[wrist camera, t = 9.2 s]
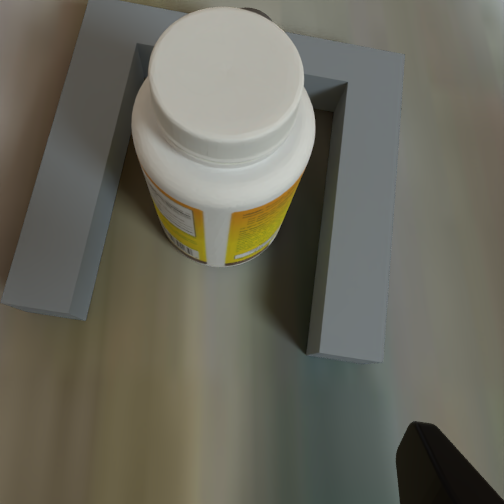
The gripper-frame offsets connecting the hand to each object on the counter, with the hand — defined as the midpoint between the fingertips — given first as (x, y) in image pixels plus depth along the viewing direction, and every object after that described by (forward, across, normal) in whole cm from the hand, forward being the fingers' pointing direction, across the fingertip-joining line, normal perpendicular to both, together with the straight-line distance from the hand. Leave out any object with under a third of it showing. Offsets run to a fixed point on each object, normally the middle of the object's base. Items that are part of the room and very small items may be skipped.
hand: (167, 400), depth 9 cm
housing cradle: (+14, 0, +1) cm, 15 cm away
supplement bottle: (+14, 0, +2) cm, 14 cm away
